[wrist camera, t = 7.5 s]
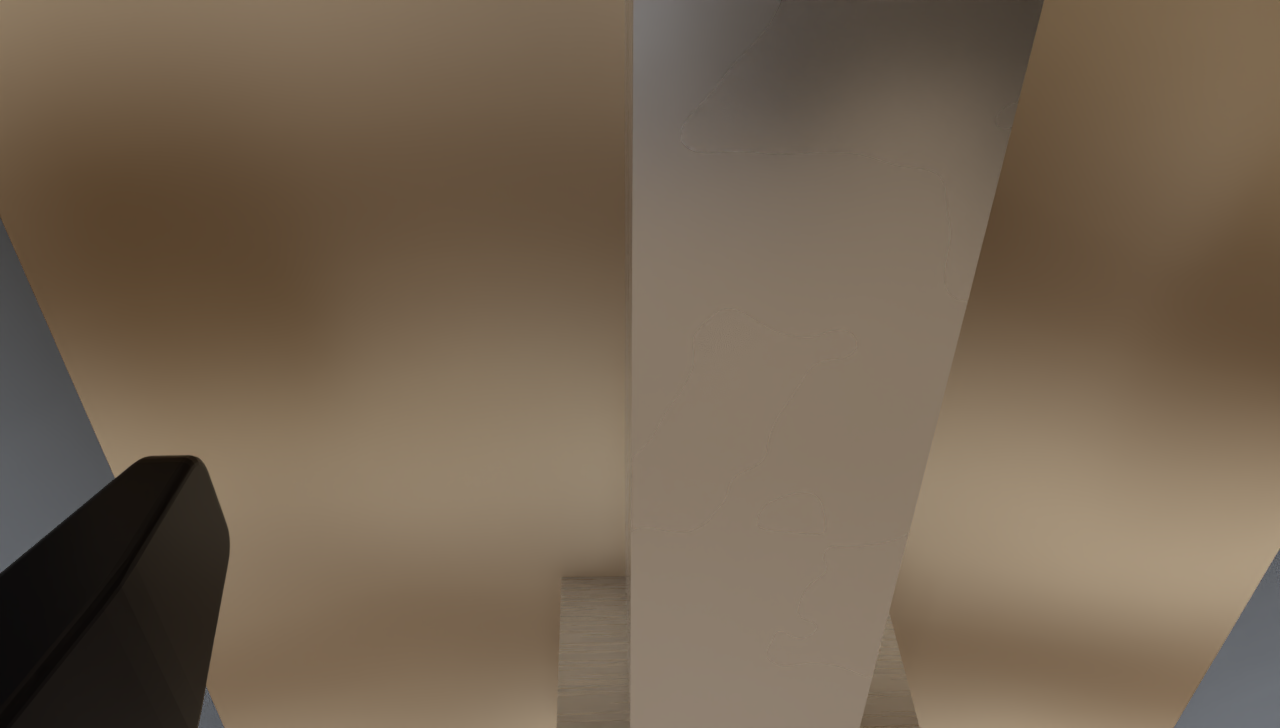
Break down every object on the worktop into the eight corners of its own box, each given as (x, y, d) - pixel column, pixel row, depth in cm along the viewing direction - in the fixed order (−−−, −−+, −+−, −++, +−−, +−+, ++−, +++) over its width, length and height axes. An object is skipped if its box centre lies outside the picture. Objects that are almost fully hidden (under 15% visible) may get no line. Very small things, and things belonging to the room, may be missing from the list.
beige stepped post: (845, 713, 15) (881, 888, 13) (570, 719, 15) (566, 898, 13) (1243, -987, 5) (1601, -1263, 3) (463, -1010, 5) (390, -1303, 3)
